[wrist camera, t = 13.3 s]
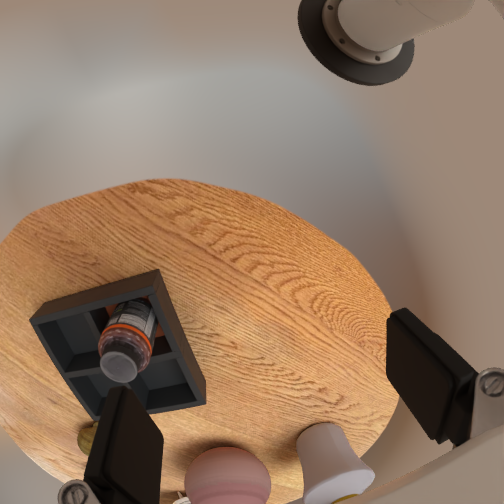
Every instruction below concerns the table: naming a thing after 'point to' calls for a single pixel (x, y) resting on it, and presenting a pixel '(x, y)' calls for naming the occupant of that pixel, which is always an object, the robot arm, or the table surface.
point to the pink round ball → (227, 478)
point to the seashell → (87, 438)
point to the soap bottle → (330, 465)
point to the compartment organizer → (87, 354)
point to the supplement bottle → (128, 340)
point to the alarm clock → (182, 500)
